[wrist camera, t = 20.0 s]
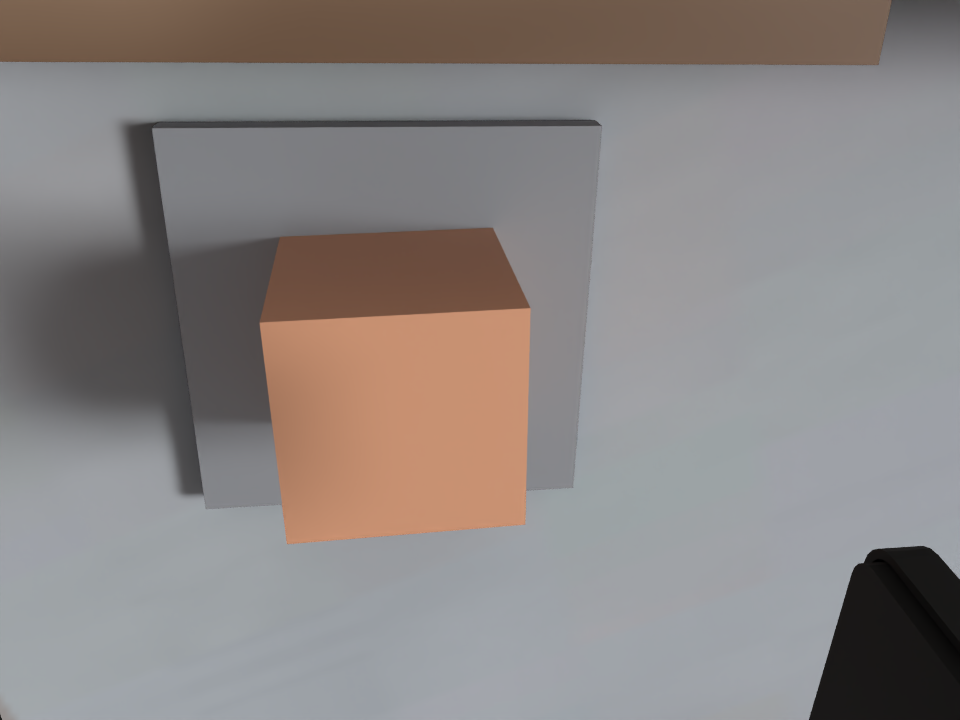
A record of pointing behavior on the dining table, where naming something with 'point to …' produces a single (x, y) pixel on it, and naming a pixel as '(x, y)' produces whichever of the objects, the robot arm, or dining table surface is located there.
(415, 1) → the board
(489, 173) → the pad
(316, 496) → the block
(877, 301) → the dining table surface
